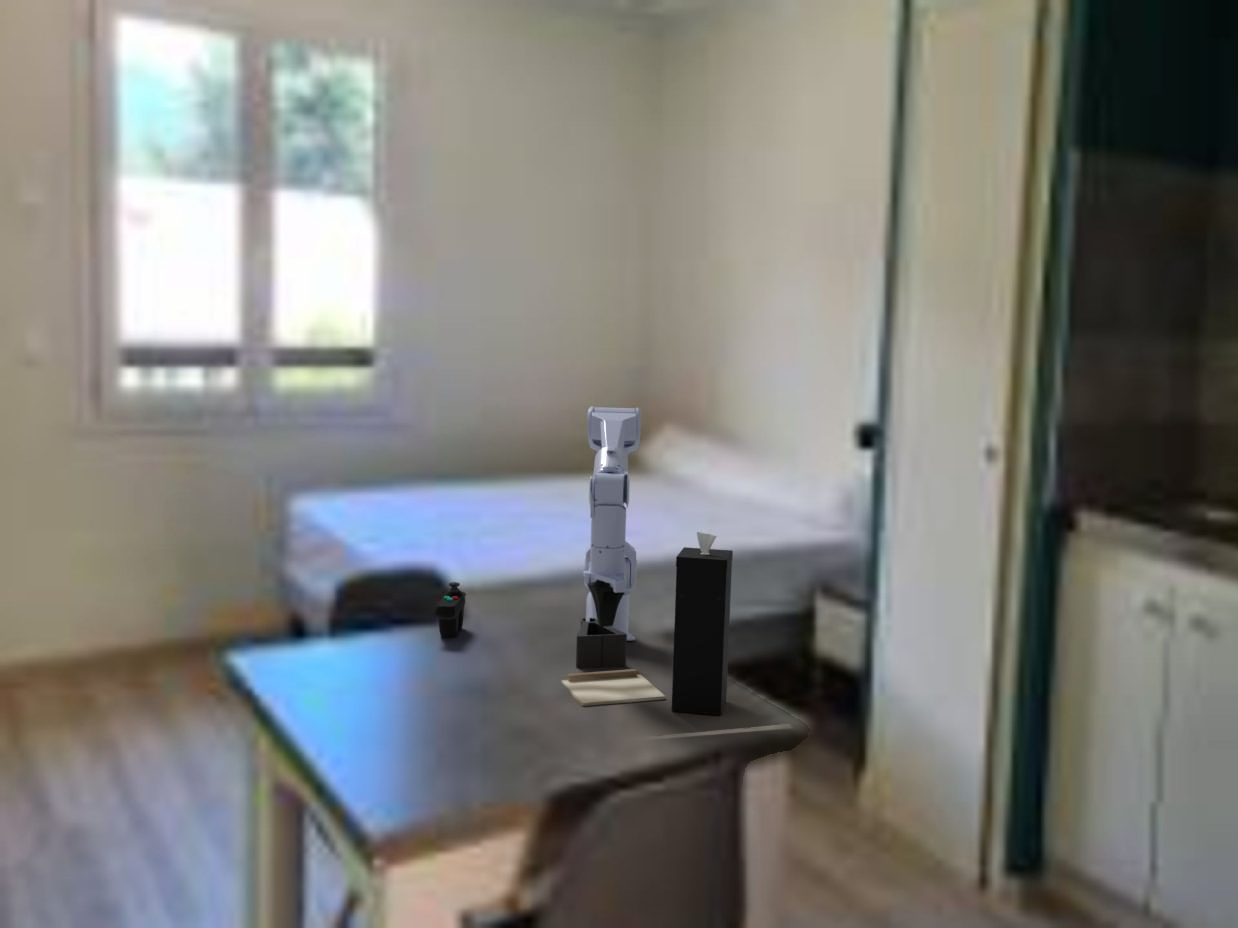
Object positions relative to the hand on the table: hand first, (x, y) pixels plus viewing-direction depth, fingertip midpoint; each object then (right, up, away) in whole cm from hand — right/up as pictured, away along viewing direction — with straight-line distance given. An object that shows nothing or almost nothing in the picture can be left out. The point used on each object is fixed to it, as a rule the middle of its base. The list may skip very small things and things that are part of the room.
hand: (605, 625), depth 196 cm
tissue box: (+15, -12, -9) cm, 21 cm away
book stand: (+1, -10, -3) cm, 11 cm away
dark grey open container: (-1, -6, +9) cm, 10 cm away
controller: (-29, -6, +25) cm, 39 cm away
